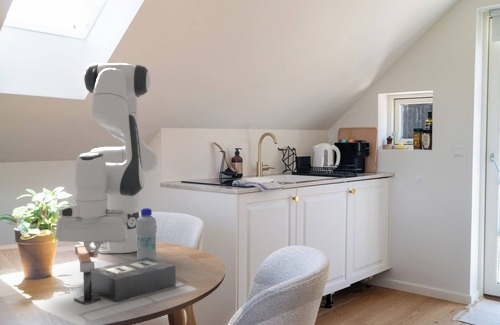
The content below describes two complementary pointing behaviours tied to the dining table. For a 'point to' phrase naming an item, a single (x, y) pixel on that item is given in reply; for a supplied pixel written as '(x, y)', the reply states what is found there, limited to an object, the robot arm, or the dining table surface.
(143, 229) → the bottle
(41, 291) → the dining table surface
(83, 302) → the pivot post
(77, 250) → the swing arm
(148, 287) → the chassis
